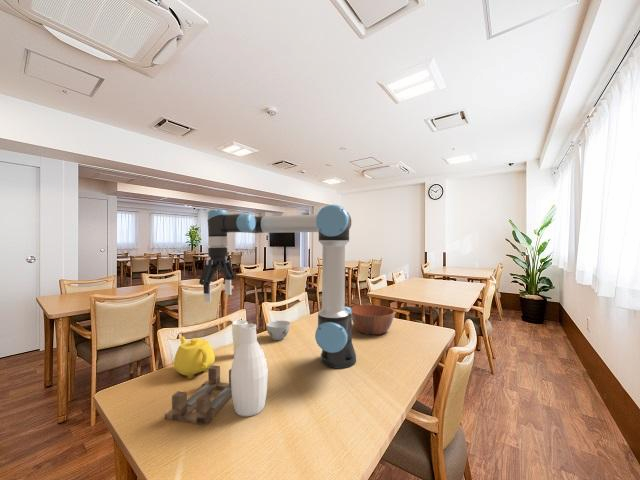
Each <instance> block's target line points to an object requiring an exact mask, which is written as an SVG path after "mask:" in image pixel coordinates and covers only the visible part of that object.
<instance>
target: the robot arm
mask: <svg viewBox="0 0 640 480" xmlns="http://www.w3.org/2000/svg"><path fill="white" fill-rule="evenodd" d="M206 221H207V234H208V235H207V237H208V238H207V241H208V242H207V244H208V245H207V246H208V250H207V253H208V254H207V255H208V257H210V259H205V260H204V265H203V269H202V271H201V272H202V273H201V275H200V279H199V285H201V286H203V294H204V295H203V297H204V299H203V301H204V302H208V303H211V302H212V284H211V282H212V280H213V278H214V276H215V274H216V272H217V271H219V270H220V271H221V272H222V275H223V276H224V278H225V279H224V294H225V295H226V296H232V280H234V279H235V272H234V269H233V267H232V263H231V257H227V256H228V247H227V246H228V233H245V234H247V233H249V234H250V233H251V234H263V233H264V234H265V233H266V234H267V233H268V234H269V233H270V234H273V233H274V234H275V233H276V234H277V233H318V242H319V243H320V244H321V246H322V248H321V249H322V252H321V253H322V262H321V263H322V264H321V265H322V266H321V268H322V269H321V270H322V273H321V278H322V282H321V292H322V293H321V309H319V310H318V312H317V328H316V330H315V336H314V337H315V341H316V344H317V346H318V347H319V348H320V349H321V354H320V361H321V363H322V364H323V365H324V366H326V367H329V368H334V369H345V368H349V367H352V366H353V365H355V364H356V363H357V354H356V351H355V347H354V344H353V333H352V332H353V330H352V329H353V328H352V327H353V326H352V325H353V321H352V312H351V308H352V307H350V306H345V305H346V304H345V301H346V297H345V296H346V295H345V293H346V292H345V291H346V288H345V287H346V245H348V243H349V242H350V229H351V227H352V217H351V215H350V214H349V212H348V211H347V210H346V209H345V208H344V207H343V206H341V205H338V204H328V205H326V206H325V205H324V207H322V208H321V209H320V210H319V211H318V213H317V214H298V215H297V214H296V215H295V214H294V215H293V214H292V215H265V216H262V215H260V216H259V215H258V216H257V215H256V216H254V215H253V214H252V213H234V214H233V213H232V214H231V213H230V214H228V211H227V210H225V209H210V210H208V212H207V220H206Z"/></svg>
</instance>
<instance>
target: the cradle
mask: <svg viewBox="0 0 640 480" xmlns="http://www.w3.org/2000/svg"><path fill="white" fill-rule="evenodd" d="M207 373H208V378H207V379H208V380H205V381H204V382H203V383H201V386H202V387H200V389H198V390H197V391H196V392H194V393H193V394H192V395H191V396H190V397H189V398H188V397H187V396H188V392H186V391H181V390H179V391H178V390H177V391H176V392H175V393H173V394H172V395H171V409H170V410H168V411H167V412H166V413H165V414H164V419H166V420H172V421H176V422H177V421H178V422H184V423H190V424H196V425H202V426H203V425H204V426H208V425H209V424H210V423H211V422H212V421H213V418H214V417H215V416H216V415H217V414H218V412H219V411H220V410H222V409H223V408H224V406H225V405H226V404H228V402H229V401H230V400H231V399H232V390H231V368H230V369H228V382H222V381H221V366H220V365H212V366H211V367H209V368H208V371H207ZM216 390H220V393H218V395H217V396H215V397H214V398H213V399H212V396H211V394H213V393H214V392H215V391H216ZM194 410H195V411H196V412H193V411H194Z"/></svg>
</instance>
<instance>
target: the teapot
mask: <svg viewBox="0 0 640 480" xmlns="http://www.w3.org/2000/svg"><path fill="white" fill-rule="evenodd" d="M179 339H180V343H181V344H180V345H179V347H178V348H177V351H176V353H175V355H174V359H173V367H174V370H176V372H178V373H179V374H180V375H183V376H187V377H186V378H187V379H193V378H195V376H196V374H199V373H201V372H203V373H208V368H209V367H211V366H212V365H213V364H214V363H215V361H216V360H215V359H216V358H215V352H214V349H213V347H212V345H211V343H210V341H208V340H206V339H204V338H203V339H202V338H197V337H194V338H192V339H190V341H187V339H186V338H185V336H183V335H179Z"/></svg>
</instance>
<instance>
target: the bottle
mask: <svg viewBox="0 0 640 480" xmlns="http://www.w3.org/2000/svg"><path fill="white" fill-rule="evenodd" d="M241 328H242V342H241V344H240V346H239V348H238V349H237V351H236V353H235V356H234V355H233V360H232V363H231V368H230V369H231V390H232V398H231V399H232V404H233V409H234V412H235V413H236V414H237V415H238V416H241V417H252V416H255V415H258V414H259V413H261V412H262V410H263V409H264V408H265V406H266V401H267V400H266V398H267V393H268V392H267V391H268V375H269V374H268V373H269V370H268V364H267V363H268V362H267V359H266V356H265V354H264V350H263V348H262V346H261V345H260V344H259V342H258V339H257V324H256V323H248V324H245V325H242V327H241Z"/></svg>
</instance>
